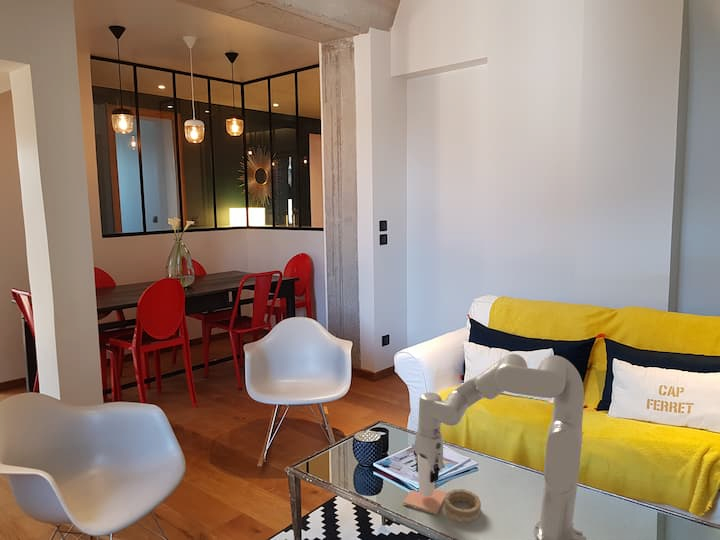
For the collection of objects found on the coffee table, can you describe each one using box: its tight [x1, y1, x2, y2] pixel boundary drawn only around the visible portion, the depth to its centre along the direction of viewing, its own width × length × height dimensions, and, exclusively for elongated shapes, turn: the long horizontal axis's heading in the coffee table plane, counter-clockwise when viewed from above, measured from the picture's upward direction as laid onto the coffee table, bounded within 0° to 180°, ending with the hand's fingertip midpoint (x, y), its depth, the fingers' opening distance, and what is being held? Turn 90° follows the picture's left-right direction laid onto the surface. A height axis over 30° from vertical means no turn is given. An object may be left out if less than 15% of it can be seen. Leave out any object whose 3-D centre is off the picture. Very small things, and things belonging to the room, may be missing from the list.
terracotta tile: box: [402, 488, 448, 515], centre depth 195 cm, size 12×12×1 cm
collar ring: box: [443, 488, 482, 523], centre depth 190 cm, size 12×12×4 cm
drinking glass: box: [417, 453, 436, 496], centre depth 193 cm, size 7×7×15 cm
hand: (426, 475), depth 193 cm, fingers closed on drinking glass, 6 cm apart
